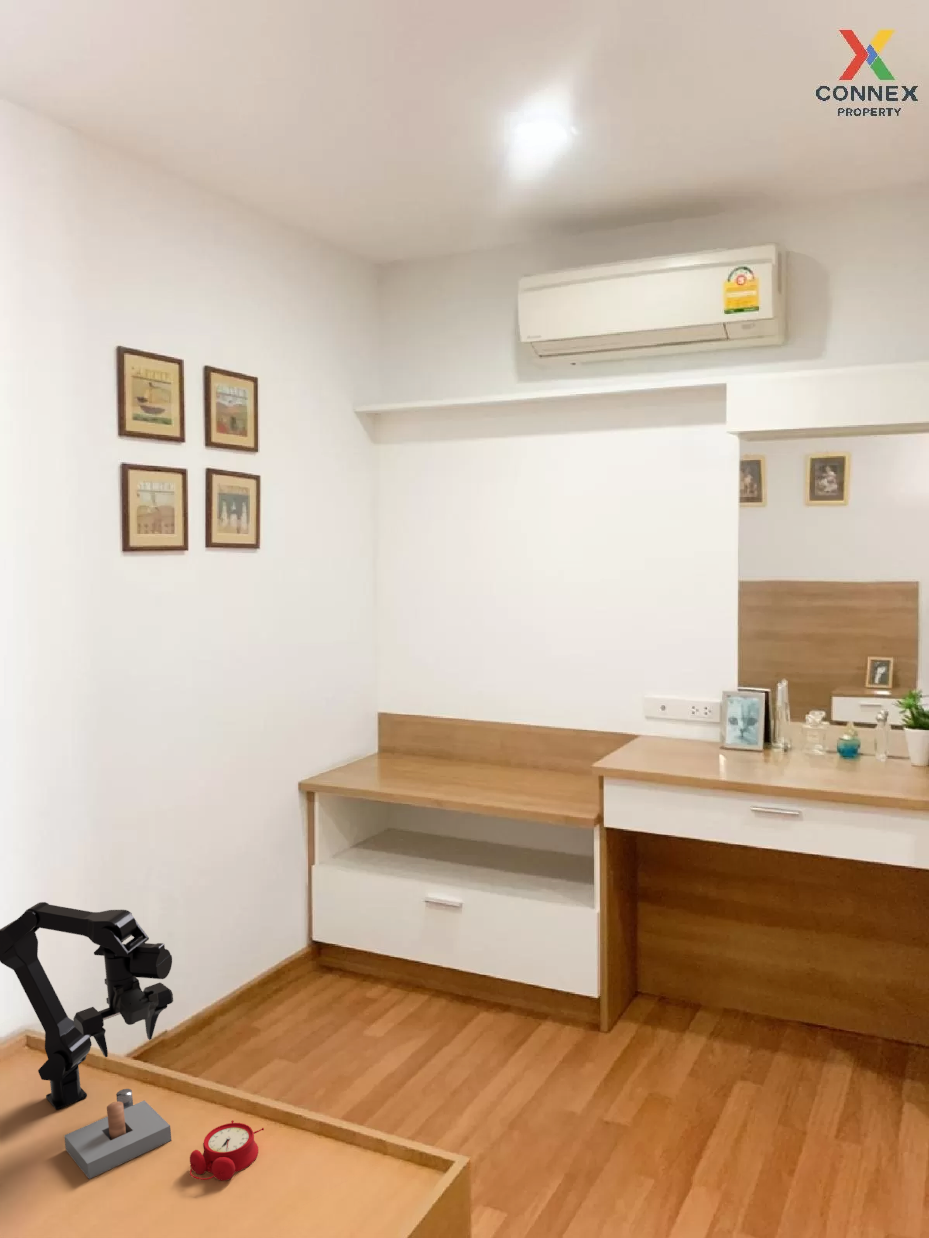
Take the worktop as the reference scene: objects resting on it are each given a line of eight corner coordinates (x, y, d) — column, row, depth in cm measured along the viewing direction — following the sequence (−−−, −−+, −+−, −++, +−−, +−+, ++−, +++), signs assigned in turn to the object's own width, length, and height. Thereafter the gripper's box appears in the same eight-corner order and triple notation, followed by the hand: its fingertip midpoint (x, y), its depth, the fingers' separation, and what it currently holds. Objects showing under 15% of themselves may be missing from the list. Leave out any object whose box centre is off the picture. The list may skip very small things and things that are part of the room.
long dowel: (108, 1145, 194) (104, 1106, 193) (123, 1138, 196) (119, 1099, 195) (114, 1151, 192) (110, 1112, 191) (129, 1144, 194) (125, 1105, 193)
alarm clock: (271, 1125, 192) (222, 1155, 178) (269, 1159, 191) (220, 1192, 178) (226, 1114, 196) (175, 1142, 182) (224, 1148, 195) (173, 1179, 182)
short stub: (115, 1111, 205) (114, 1092, 205) (130, 1105, 207) (128, 1086, 207) (121, 1117, 203) (119, 1098, 202) (135, 1111, 205) (134, 1092, 204)
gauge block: (65, 1149, 193) (64, 1135, 193) (145, 1113, 204) (144, 1100, 203) (89, 1178, 184) (87, 1163, 184) (171, 1139, 194) (170, 1125, 194)
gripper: (90, 1004, 192) (97, 1081, 194) (181, 971, 204) (188, 1044, 206) (69, 985, 200) (76, 1059, 202) (158, 954, 212) (164, 1025, 214)
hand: (128, 1047), depth 206 cm, fingers open, 9 cm apart
